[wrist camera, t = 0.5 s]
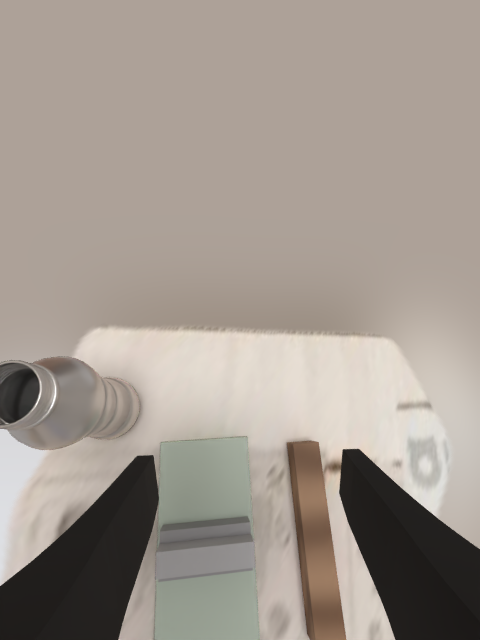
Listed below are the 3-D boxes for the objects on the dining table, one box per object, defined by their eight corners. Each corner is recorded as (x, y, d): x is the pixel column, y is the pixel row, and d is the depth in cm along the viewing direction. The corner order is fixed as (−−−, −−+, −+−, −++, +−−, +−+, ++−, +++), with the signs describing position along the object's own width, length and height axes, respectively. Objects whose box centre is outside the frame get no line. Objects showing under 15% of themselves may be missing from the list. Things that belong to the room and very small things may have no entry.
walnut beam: (334, 627, 30) (347, 648, 27) (306, 631, 30) (316, 653, 27) (309, 440, 36) (318, 442, 33) (286, 442, 36) (293, 444, 33)
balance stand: (259, 655, 28) (269, 701, 24) (154, 671, 27) (143, 723, 22) (246, 436, 35) (252, 438, 30) (161, 442, 34) (154, 445, 29)
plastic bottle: (124, 369, 36) (33, 312, 17) (155, 414, 35) (93, 403, 16) (75, 403, 34) (-84, 380, 15) (106, 451, 33) (-28, 490, 14)
